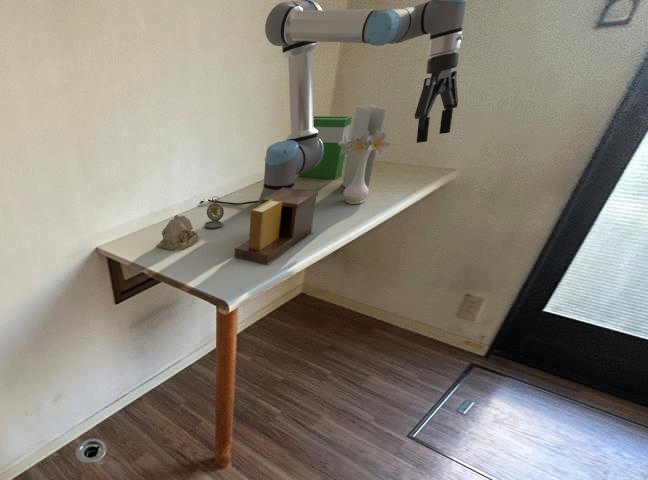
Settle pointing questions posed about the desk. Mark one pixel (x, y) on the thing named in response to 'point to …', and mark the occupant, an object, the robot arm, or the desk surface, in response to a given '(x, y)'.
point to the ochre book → (264, 224)
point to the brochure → (363, 122)
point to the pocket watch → (214, 210)
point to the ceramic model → (178, 234)
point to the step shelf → (285, 224)
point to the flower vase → (361, 162)
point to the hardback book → (330, 145)
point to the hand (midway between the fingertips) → (433, 137)
